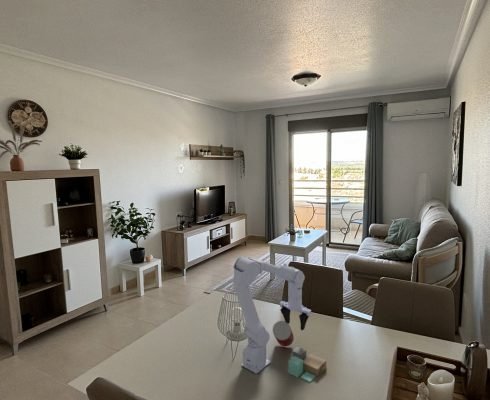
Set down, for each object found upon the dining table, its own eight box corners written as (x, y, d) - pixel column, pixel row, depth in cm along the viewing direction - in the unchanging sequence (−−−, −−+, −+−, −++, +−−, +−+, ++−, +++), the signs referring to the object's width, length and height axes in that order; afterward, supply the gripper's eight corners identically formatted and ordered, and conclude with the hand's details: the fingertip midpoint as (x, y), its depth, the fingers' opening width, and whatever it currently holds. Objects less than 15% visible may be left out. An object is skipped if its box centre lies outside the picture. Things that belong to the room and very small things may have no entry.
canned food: (289, 350, 138) (286, 343, 130) (273, 341, 142) (269, 334, 133) (297, 333, 141) (294, 326, 133) (281, 325, 145) (277, 317, 137)
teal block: (297, 377, 119) (297, 365, 118) (288, 373, 122) (288, 360, 121) (303, 372, 122) (303, 360, 121) (294, 368, 125) (294, 356, 124)
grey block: (301, 366, 125) (300, 354, 125) (292, 362, 128) (292, 350, 128) (306, 361, 128) (306, 350, 128) (297, 357, 131) (297, 346, 131)
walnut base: (317, 378, 119) (317, 369, 118) (301, 370, 123) (301, 361, 123) (326, 368, 124) (326, 360, 124) (310, 361, 129) (310, 353, 128)
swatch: (309, 382, 116) (309, 381, 116) (300, 377, 119) (300, 376, 119) (315, 376, 119) (315, 375, 119) (306, 372, 122) (306, 371, 122)
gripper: (314, 297, 134) (314, 328, 136) (286, 289, 144) (286, 318, 145) (306, 303, 129) (306, 334, 130) (277, 294, 138) (277, 324, 140)
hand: (295, 326), depth 137 cm, fingers open, 7 cm apart
